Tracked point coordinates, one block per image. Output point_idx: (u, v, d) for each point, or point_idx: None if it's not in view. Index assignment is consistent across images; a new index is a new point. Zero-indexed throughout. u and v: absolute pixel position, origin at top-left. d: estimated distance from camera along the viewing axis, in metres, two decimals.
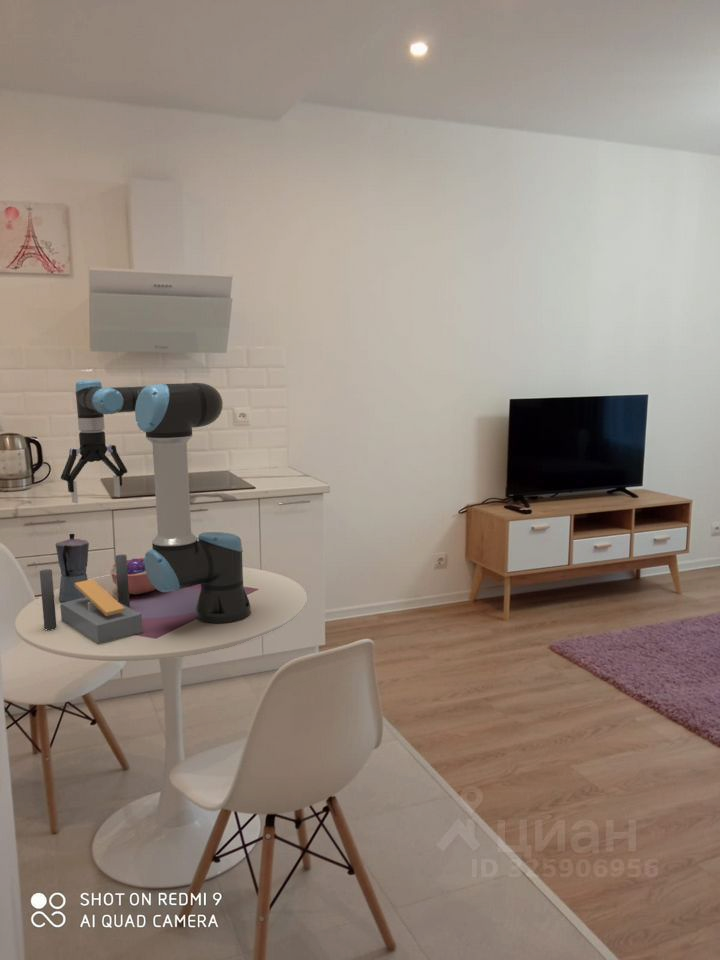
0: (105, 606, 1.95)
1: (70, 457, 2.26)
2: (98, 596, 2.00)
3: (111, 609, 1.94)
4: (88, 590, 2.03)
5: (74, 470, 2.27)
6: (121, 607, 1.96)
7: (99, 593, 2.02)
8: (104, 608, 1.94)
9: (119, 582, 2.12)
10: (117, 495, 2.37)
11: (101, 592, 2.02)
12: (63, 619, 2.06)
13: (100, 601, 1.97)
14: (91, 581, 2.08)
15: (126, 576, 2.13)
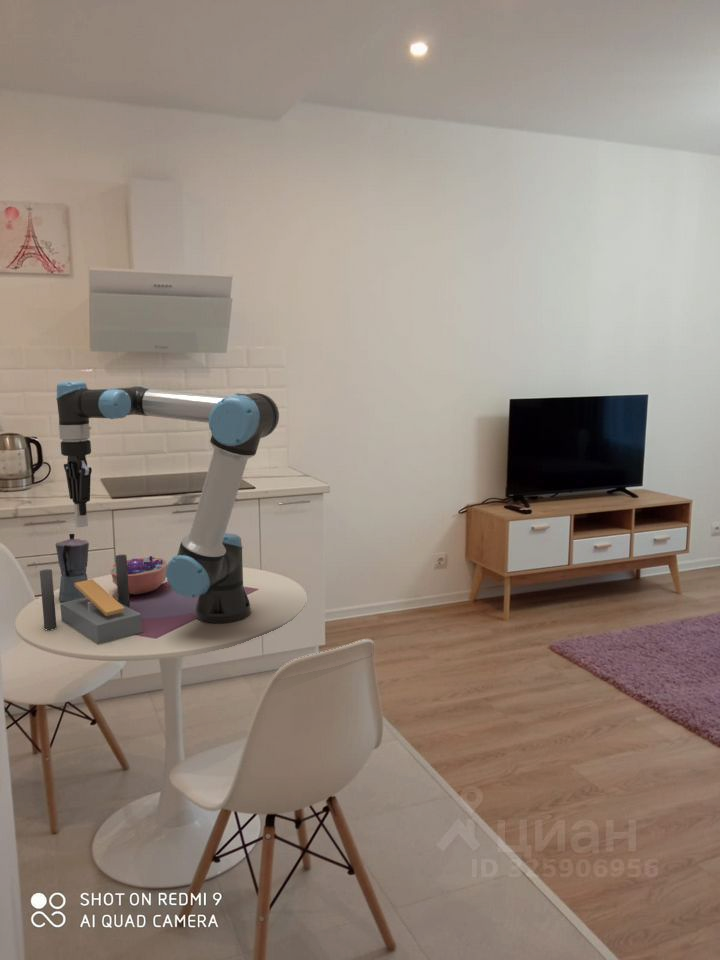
0: (105, 606, 1.95)
1: None
2: (98, 596, 2.00)
3: (111, 609, 1.94)
4: (88, 590, 2.03)
5: None
6: (121, 607, 1.96)
7: (99, 593, 2.02)
8: (104, 608, 1.94)
9: (119, 582, 2.12)
10: None
11: (101, 592, 2.02)
12: (63, 619, 2.06)
13: (100, 601, 1.97)
14: (91, 581, 2.08)
15: (126, 576, 2.13)
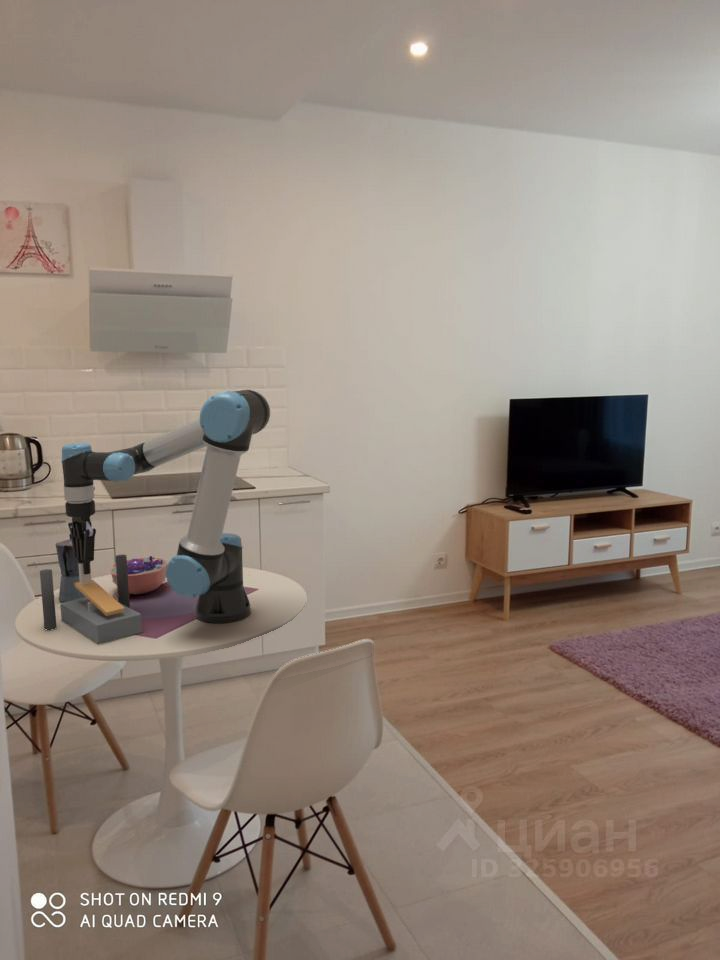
0: (105, 606, 1.95)
1: None
2: (98, 596, 2.00)
3: (111, 609, 1.94)
4: (88, 590, 2.03)
5: None
6: (121, 607, 1.96)
7: (99, 593, 2.02)
8: (104, 608, 1.94)
9: (119, 582, 2.12)
10: None
11: (101, 592, 2.02)
12: (63, 619, 2.06)
13: (100, 601, 1.97)
14: (91, 581, 2.08)
15: (126, 576, 2.13)
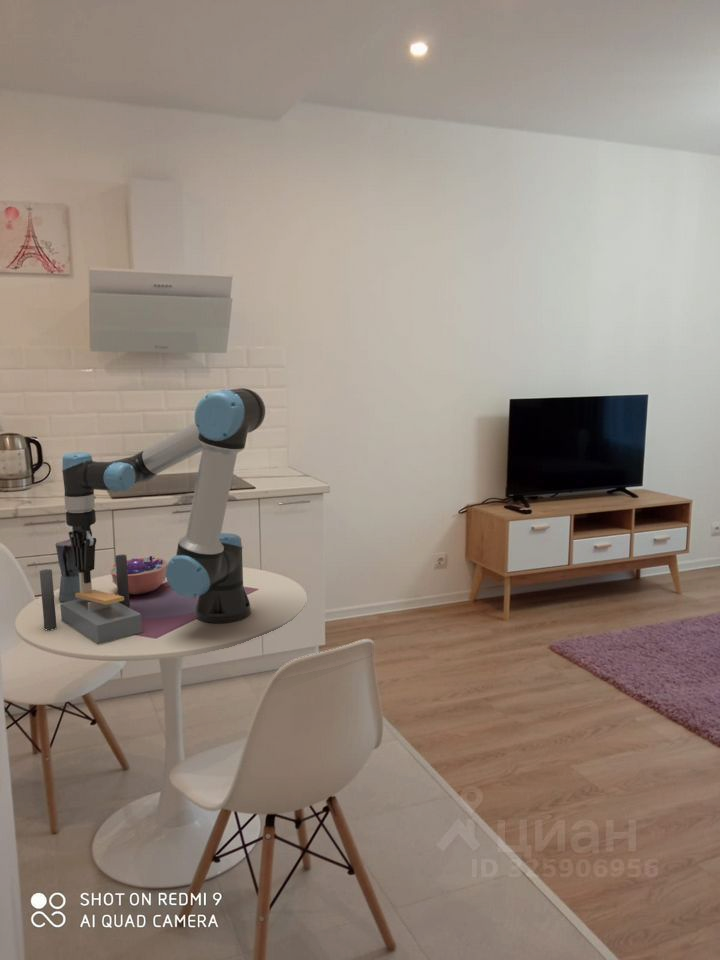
0: (104, 598, 1.95)
1: None
2: (98, 595, 2.00)
3: (110, 599, 1.94)
4: (88, 594, 2.03)
5: None
6: (120, 596, 1.95)
7: (99, 594, 2.02)
8: (103, 599, 1.94)
9: (119, 582, 2.12)
10: None
11: (101, 593, 2.03)
12: (63, 619, 2.06)
13: (99, 597, 1.97)
14: None
15: (126, 576, 2.13)
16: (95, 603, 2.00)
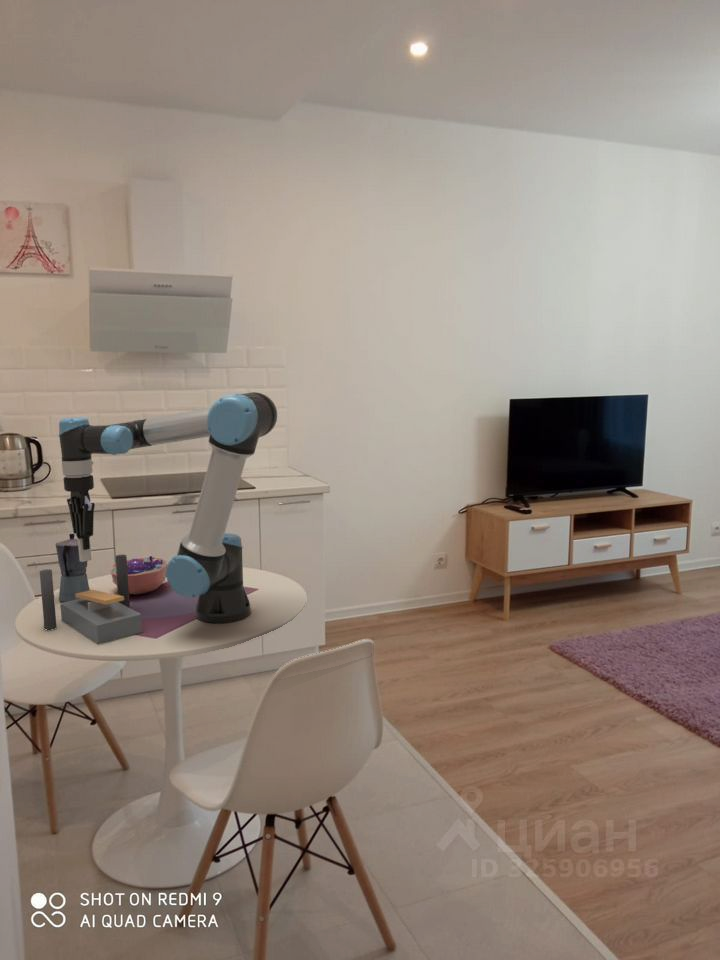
0: (104, 598, 1.95)
1: None
2: (98, 595, 2.00)
3: (110, 598, 1.94)
4: (88, 594, 2.03)
5: None
6: (120, 596, 1.95)
7: (99, 594, 2.02)
8: (103, 599, 1.94)
9: (119, 582, 2.12)
10: None
11: (101, 593, 2.03)
12: (63, 619, 2.06)
13: (99, 597, 1.97)
14: (91, 590, 2.09)
15: (126, 576, 2.13)
16: (95, 603, 2.00)
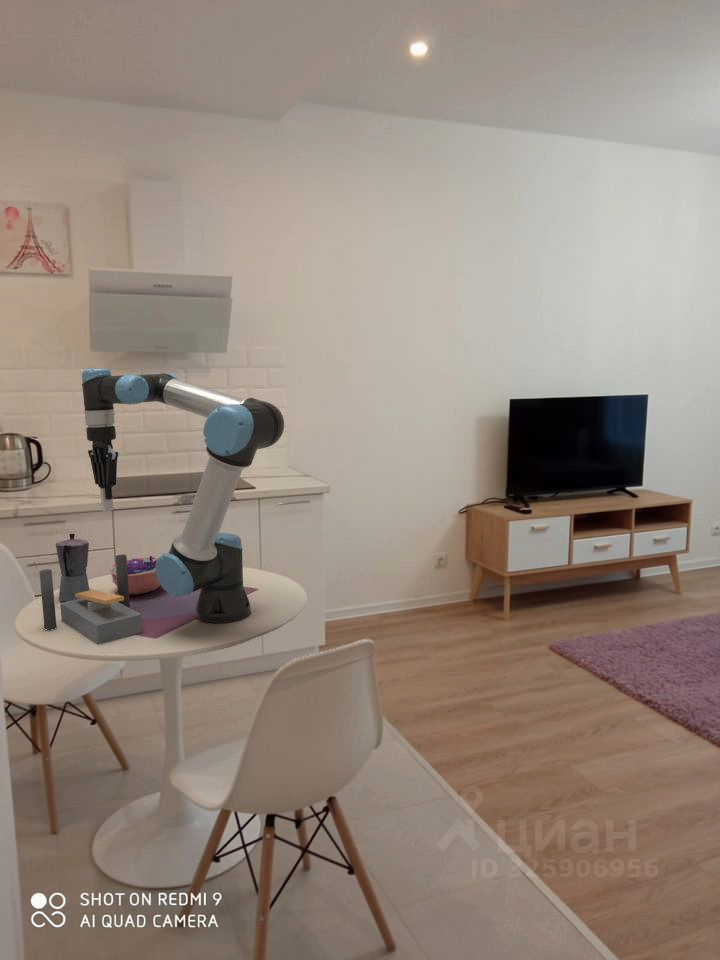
0: (104, 598, 1.95)
1: None
2: (98, 595, 2.00)
3: (110, 598, 1.94)
4: (88, 594, 2.03)
5: None
6: (120, 596, 1.95)
7: (99, 594, 2.02)
8: (103, 599, 1.94)
9: (119, 582, 2.12)
10: None
11: (101, 593, 2.03)
12: (63, 619, 2.06)
13: (99, 597, 1.97)
14: (91, 590, 2.09)
15: (126, 576, 2.13)
16: (95, 603, 2.00)
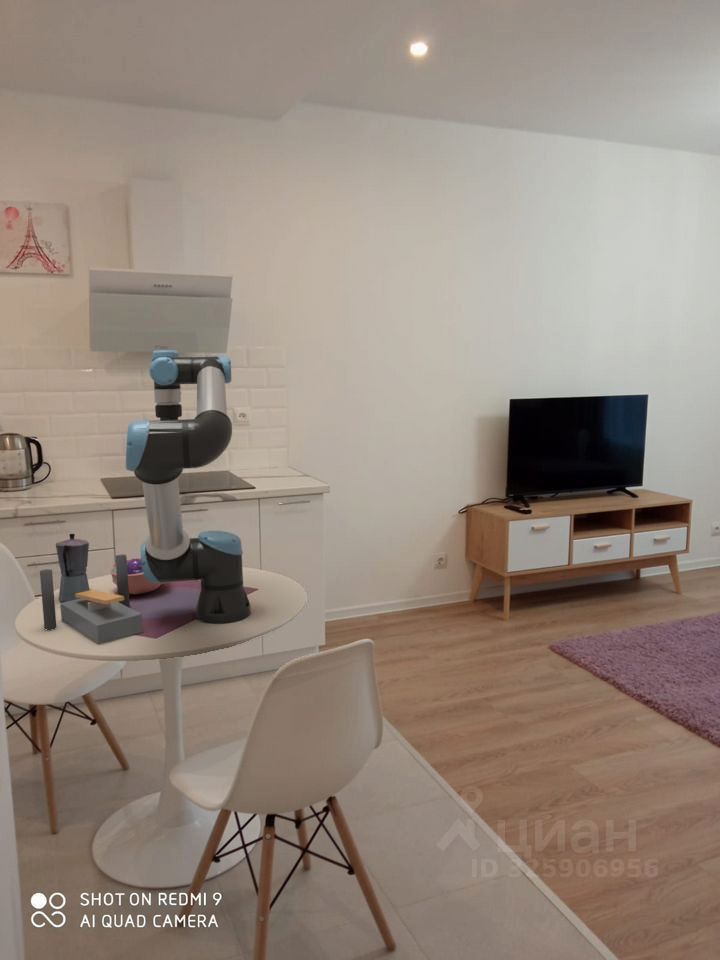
0: (104, 598, 1.95)
1: None
2: (98, 595, 2.00)
3: (110, 598, 1.94)
4: (88, 594, 2.03)
5: None
6: (120, 596, 1.95)
7: (99, 594, 2.02)
8: (103, 599, 1.94)
9: (119, 582, 2.12)
10: None
11: (101, 593, 2.03)
12: (63, 619, 2.06)
13: (99, 597, 1.97)
14: (91, 590, 2.09)
15: (126, 576, 2.13)
16: (95, 603, 2.00)
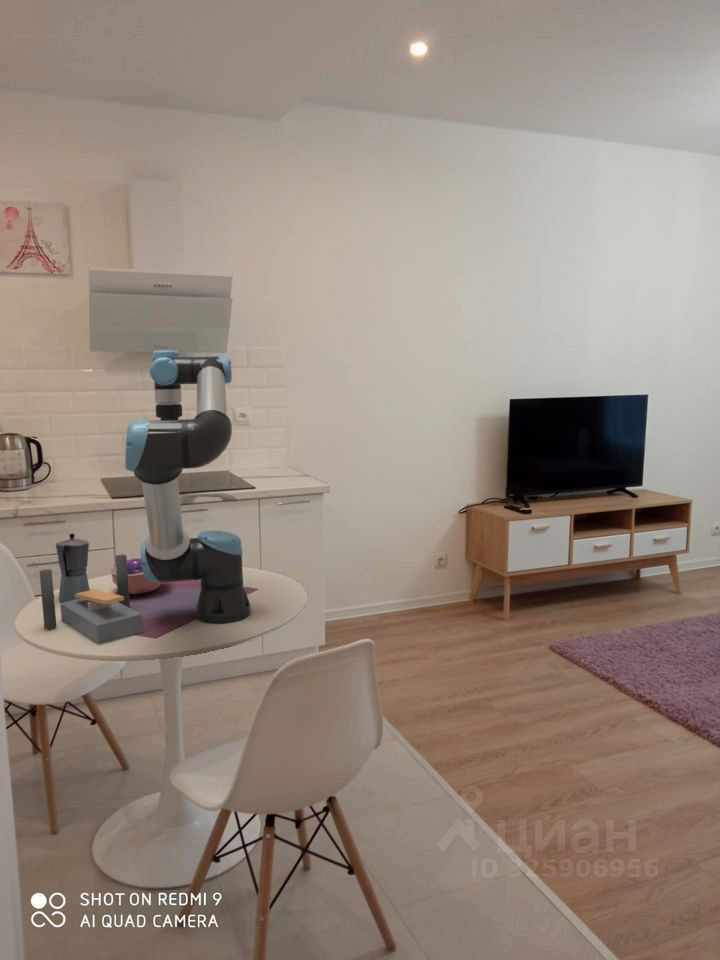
0: (104, 598, 1.95)
1: None
2: (98, 595, 2.00)
3: (110, 598, 1.94)
4: (88, 594, 2.03)
5: None
6: (120, 596, 1.95)
7: (99, 594, 2.02)
8: (103, 599, 1.94)
9: (119, 582, 2.12)
10: None
11: (101, 593, 2.03)
12: (63, 619, 2.06)
13: (99, 597, 1.97)
14: (91, 590, 2.09)
15: (126, 576, 2.13)
16: (95, 603, 2.00)
